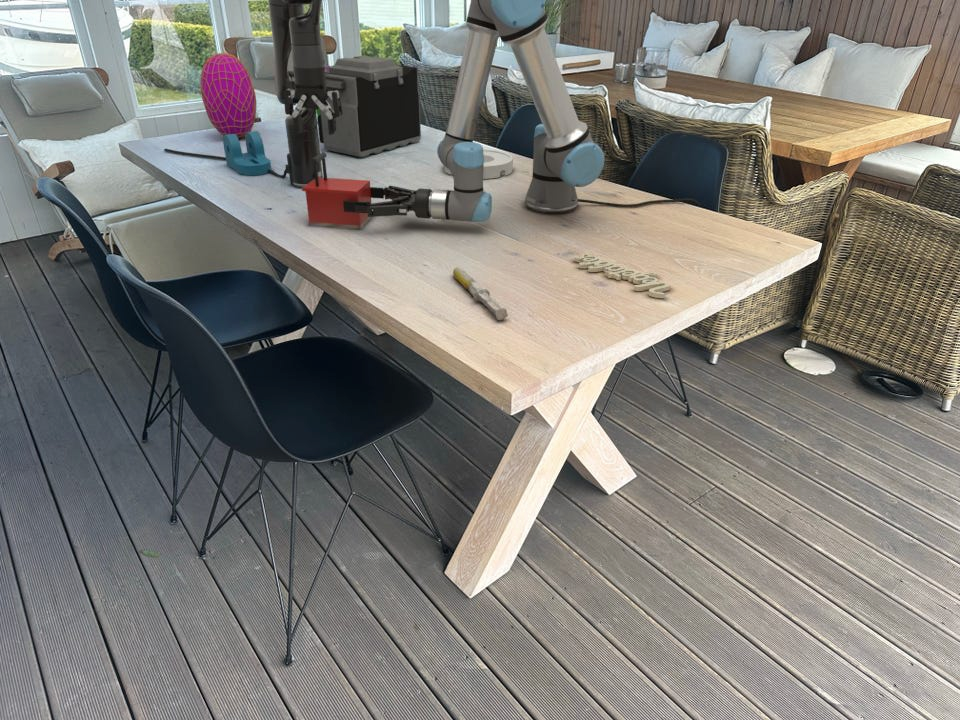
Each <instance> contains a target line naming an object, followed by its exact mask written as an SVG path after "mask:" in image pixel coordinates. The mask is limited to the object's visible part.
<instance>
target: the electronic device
mask: <svg viewBox="0 0 960 720" xmlns="http://www.w3.org/2000/svg"><path fill="white" fill-rule="evenodd" d="M330 66H331V67H329V73H328V72H325V75H326V88H327V90H328V91H336V90H338V91H339V92H340V98H341V105H342V112H343V114H342V115H341V116H339V117H337V118H336V132H335V133H334V134H333V135H329V129H328V119H329V118H328V117H327V116H326V114H325V113H324V112H322V111H321V109H320V111H321V115H319V116H317V127H318V137H319V144H323V146H324V149H325V150H327V151H330V152H335V153H340V154H344V155H348V156H353V157H357V158H362V159H363V158H366V157H367V158H368V157H369V155H371V154H375V155H377V154H381V153H382V152H383V151H391V150H395V149H396V148H397V147H405V146H407V145H408V144H416V143H418V142H419V141H421V137H422V128H421V97H420V92H419V91H420V89H419V68H418V67H417V66H408V65H400V64H396V62H395V60H394V59H393V58H385V57H377V56H367V55H356V56H353V57H350V58H349V57H343V58H342V57H341V58H337V59H336V60H335V63H334V64H333V65H330ZM326 101H327V102H328V103H329V105H330V106H331V109H332V110H333V111H334V107H333V101H332V100H331V99H330V97H329V96H328V98H327V100H326Z"/></svg>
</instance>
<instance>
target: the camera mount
mask: <svg viewBox="0 0 960 720" xmlns="http://www.w3.org/2000/svg"><path fill="white" fill-rule="evenodd" d="M244 137H245V146H246V152H243V151H242V150H243V149H242V146H241V142H240V140H239V138H237V136H236V135H235V134H230V135H224V136H223V138H222V140H223V141H222V143H223V149H224V150H223V151H224V157H226V160H225V162H226V165H227V166H228V167H230V168H231V169H232V170H234V171H236V172H237V173H238V174H239V175H244V176H260V175H265V174H268V173H270V172H268V170H269V169H270V170H272V164H271V159H270V158H268V157H267V156H266V153H265V145H264V141H263V139H262V136H261V134H260V132H258V131H250V132H247V133H246V136H244Z"/></svg>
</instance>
